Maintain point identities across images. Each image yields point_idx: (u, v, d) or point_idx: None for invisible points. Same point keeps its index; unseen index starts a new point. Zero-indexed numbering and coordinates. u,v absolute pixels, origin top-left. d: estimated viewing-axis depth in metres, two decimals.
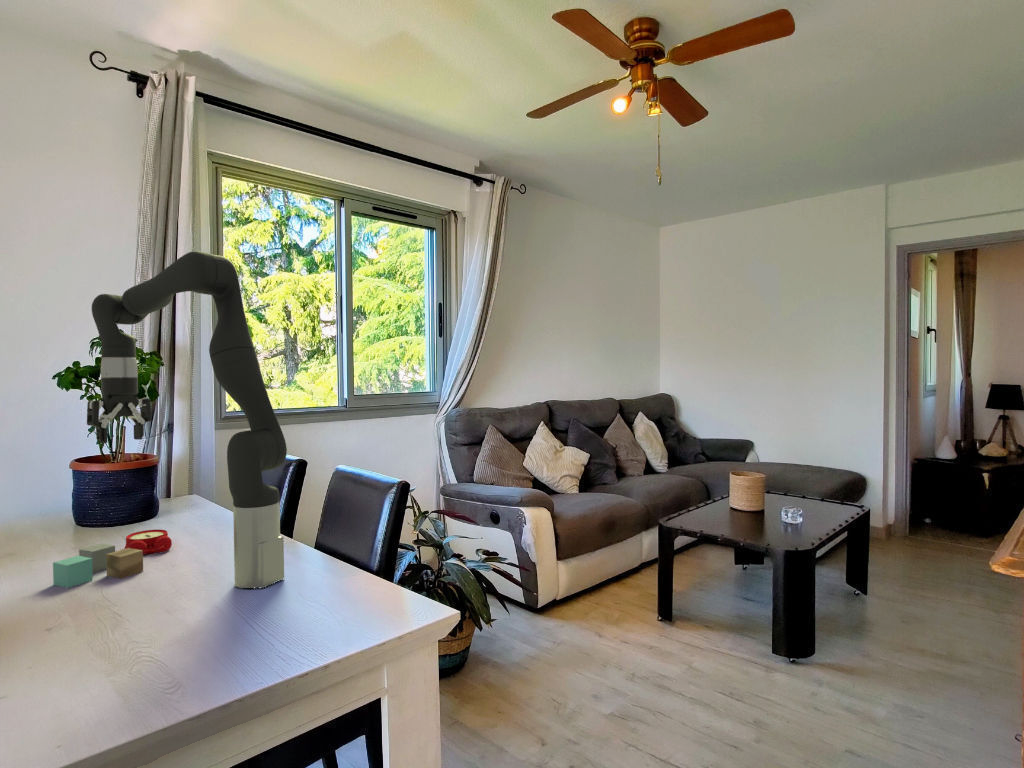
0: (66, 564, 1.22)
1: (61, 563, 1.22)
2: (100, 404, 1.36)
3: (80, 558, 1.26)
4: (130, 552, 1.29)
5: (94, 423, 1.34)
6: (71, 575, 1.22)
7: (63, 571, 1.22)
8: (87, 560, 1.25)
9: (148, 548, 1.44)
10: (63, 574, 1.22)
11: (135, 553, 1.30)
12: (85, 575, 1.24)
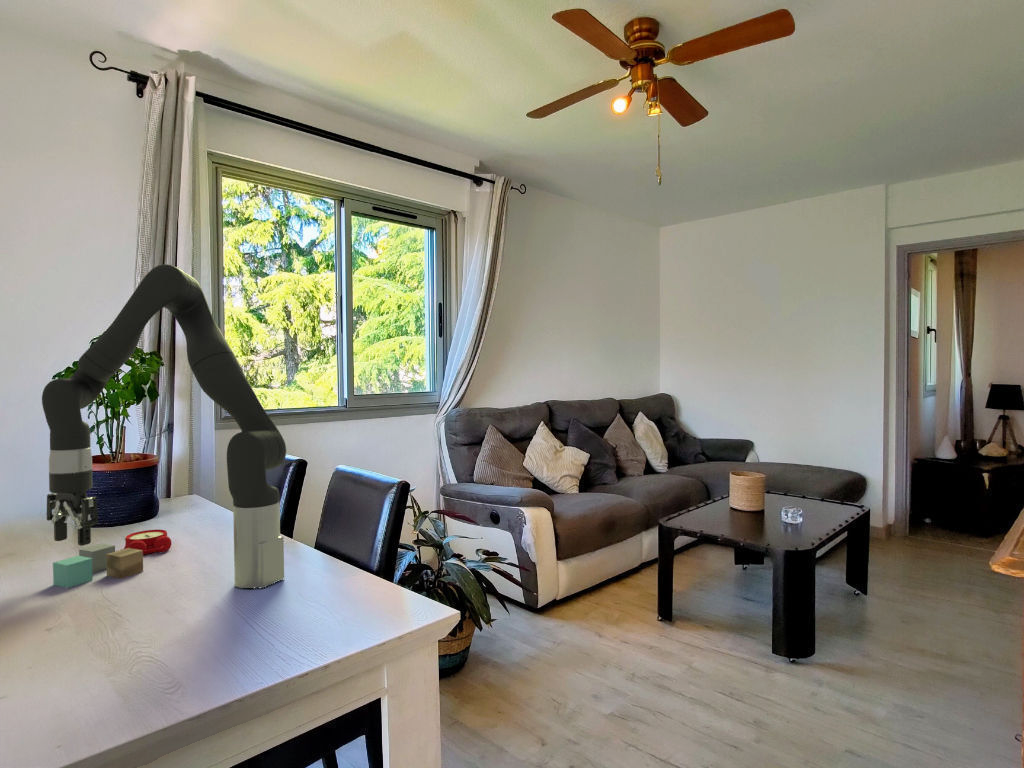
0: (66, 564, 1.22)
1: (61, 563, 1.22)
2: None
3: (80, 558, 1.26)
4: (130, 552, 1.29)
5: None
6: (71, 575, 1.22)
7: (63, 571, 1.22)
8: (87, 560, 1.25)
9: (148, 548, 1.44)
10: (63, 574, 1.22)
11: (135, 553, 1.30)
12: (85, 575, 1.24)
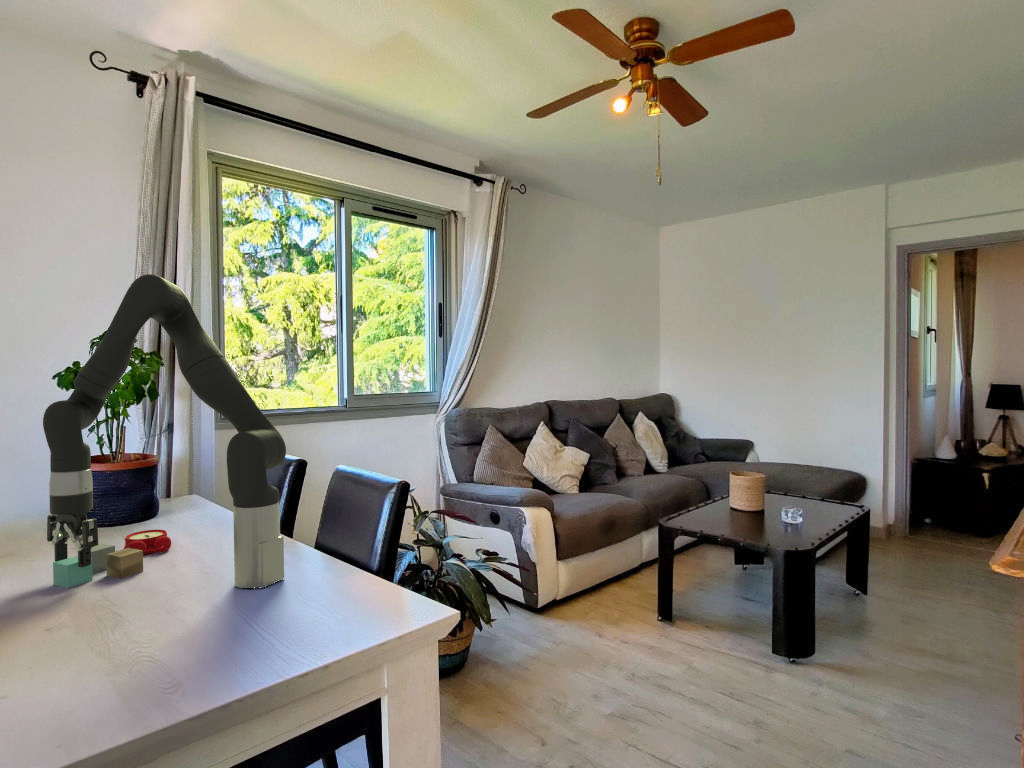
0: (66, 564, 1.22)
1: (61, 563, 1.22)
2: None
3: None
4: (130, 552, 1.29)
5: None
6: (71, 575, 1.22)
7: (63, 571, 1.22)
8: None
9: (148, 548, 1.44)
10: (63, 574, 1.22)
11: (135, 553, 1.30)
12: (85, 575, 1.24)
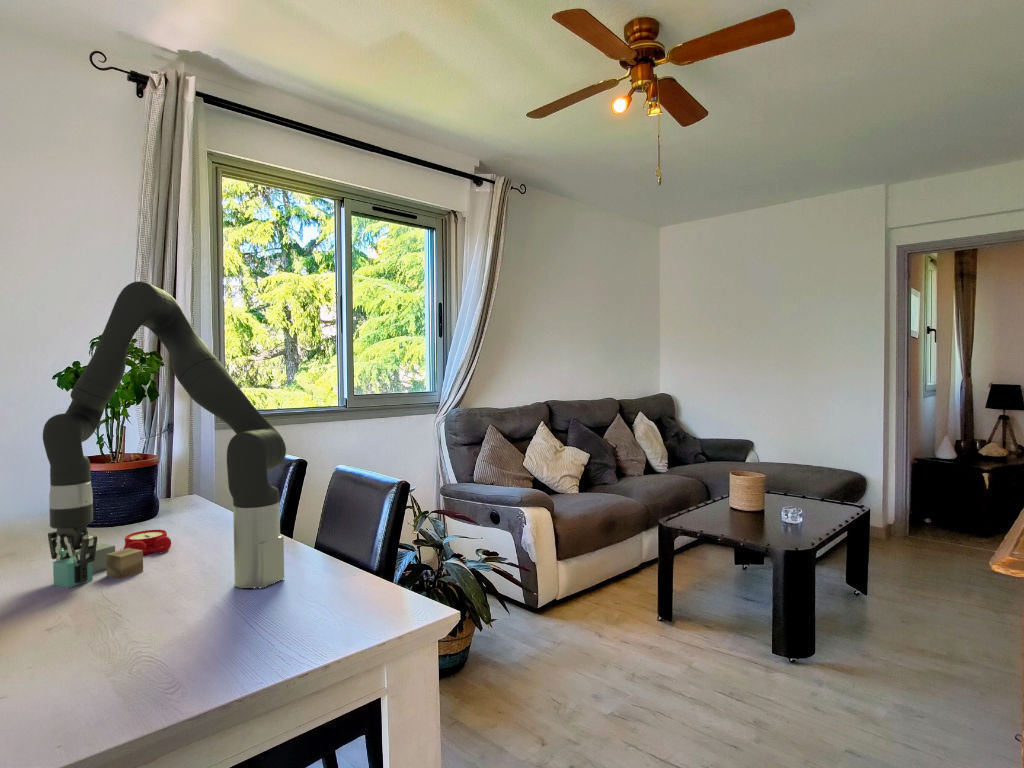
0: (66, 564, 1.22)
1: (61, 562, 1.22)
2: None
3: None
4: (130, 552, 1.29)
5: None
6: (71, 575, 1.22)
7: (63, 571, 1.22)
8: None
9: (147, 548, 1.44)
10: (63, 574, 1.22)
11: (135, 553, 1.30)
12: None
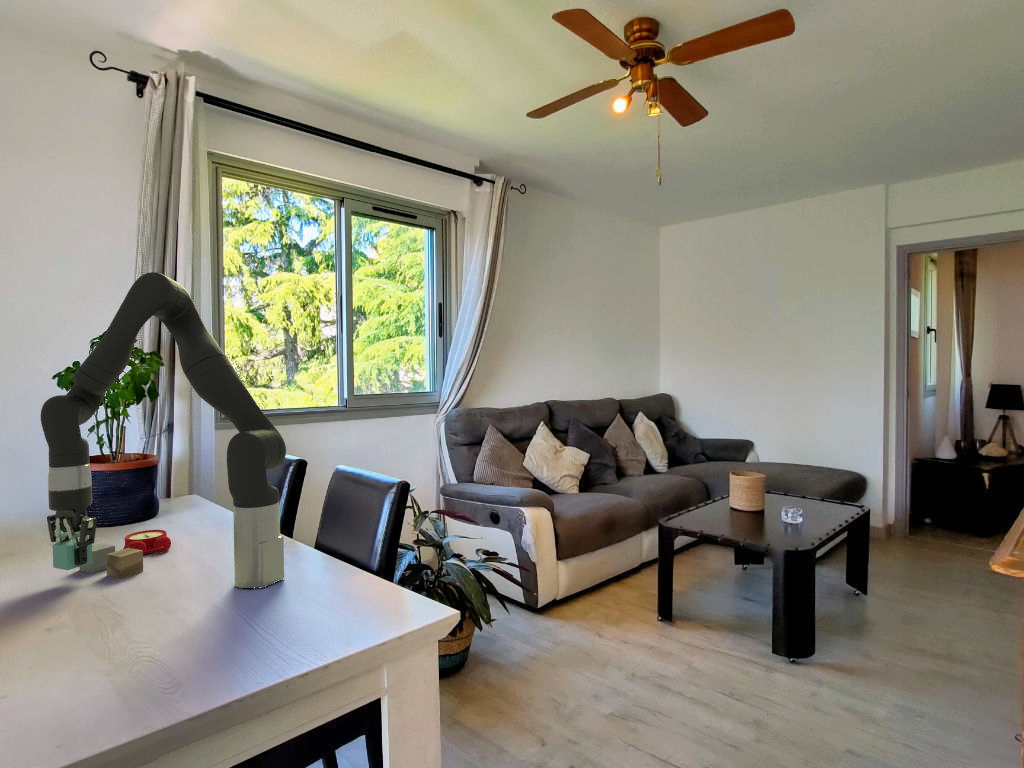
0: (66, 546, 1.21)
1: (61, 545, 1.22)
2: None
3: None
4: (130, 552, 1.29)
5: None
6: (70, 557, 1.21)
7: (62, 553, 1.21)
8: None
9: (147, 548, 1.44)
10: (63, 556, 1.21)
11: (135, 553, 1.30)
12: None
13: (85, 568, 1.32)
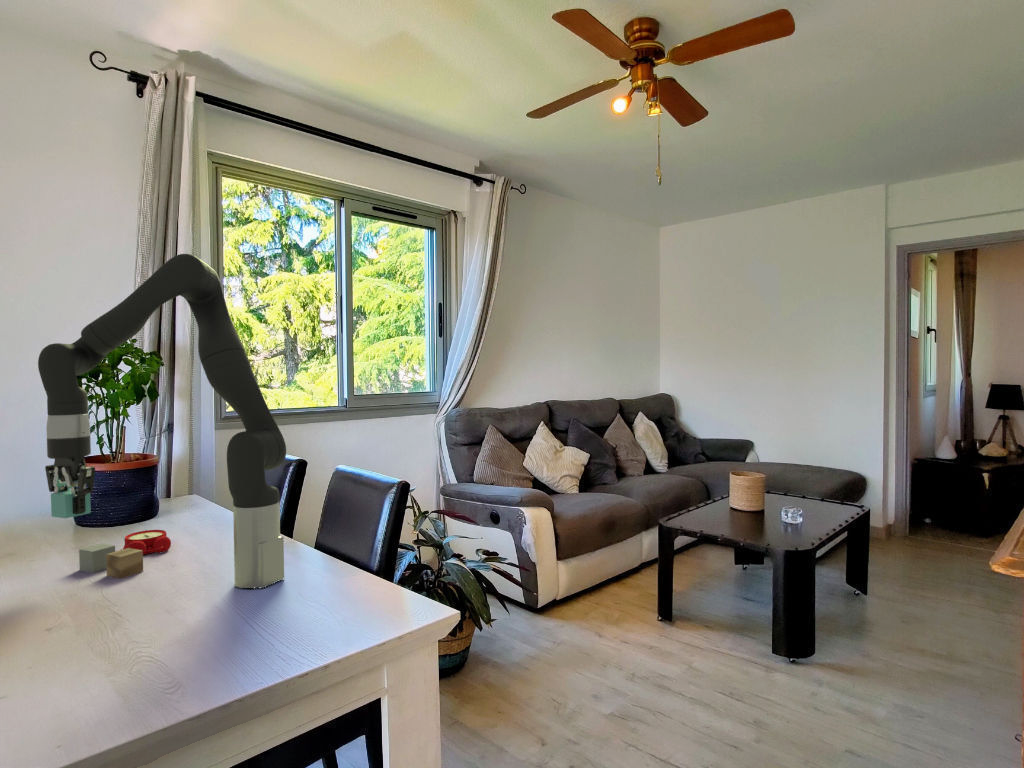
0: (64, 494, 1.21)
1: (59, 493, 1.22)
2: None
3: None
4: (130, 552, 1.29)
5: None
6: (69, 505, 1.21)
7: (61, 501, 1.21)
8: None
9: (147, 548, 1.44)
10: (61, 504, 1.21)
11: (135, 553, 1.30)
12: None
13: (85, 568, 1.32)
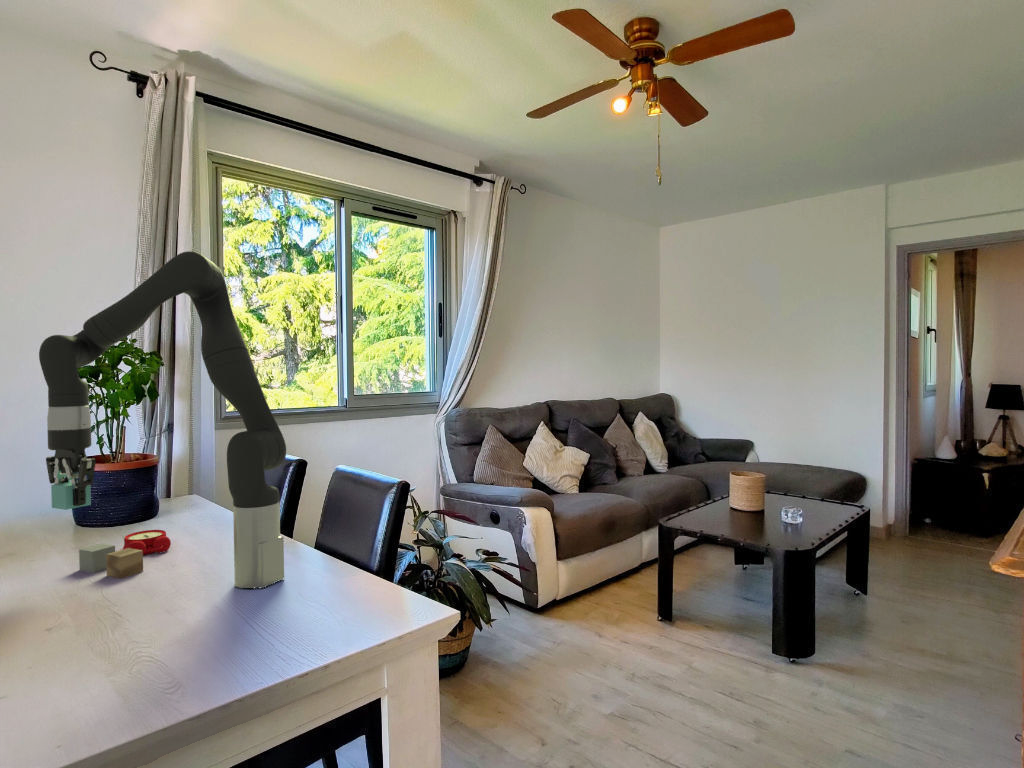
0: (64, 486, 1.21)
1: (60, 485, 1.22)
2: None
3: None
4: (130, 552, 1.29)
5: None
6: (69, 497, 1.21)
7: (61, 493, 1.21)
8: None
9: (147, 548, 1.44)
10: (62, 496, 1.21)
11: (135, 553, 1.30)
12: None
13: (85, 568, 1.32)
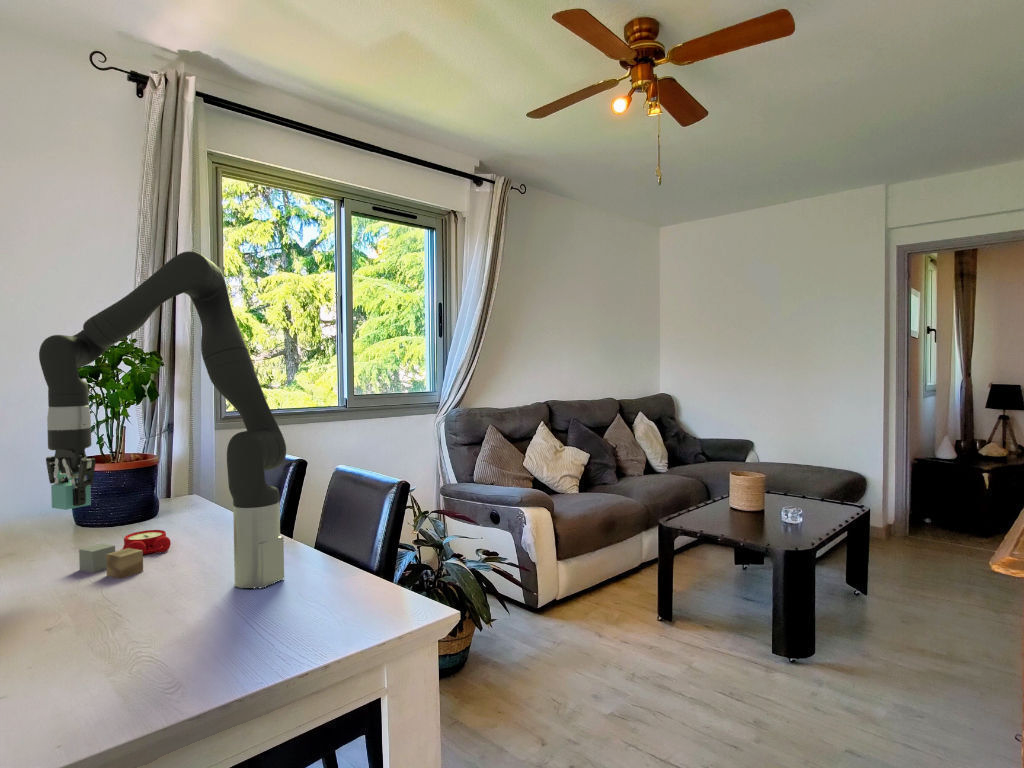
0: (64, 486, 1.21)
1: (60, 485, 1.22)
2: None
3: None
4: (130, 552, 1.29)
5: None
6: (69, 497, 1.21)
7: (61, 493, 1.21)
8: None
9: (147, 548, 1.44)
10: (62, 496, 1.21)
11: (135, 553, 1.30)
12: None
13: (85, 568, 1.32)
